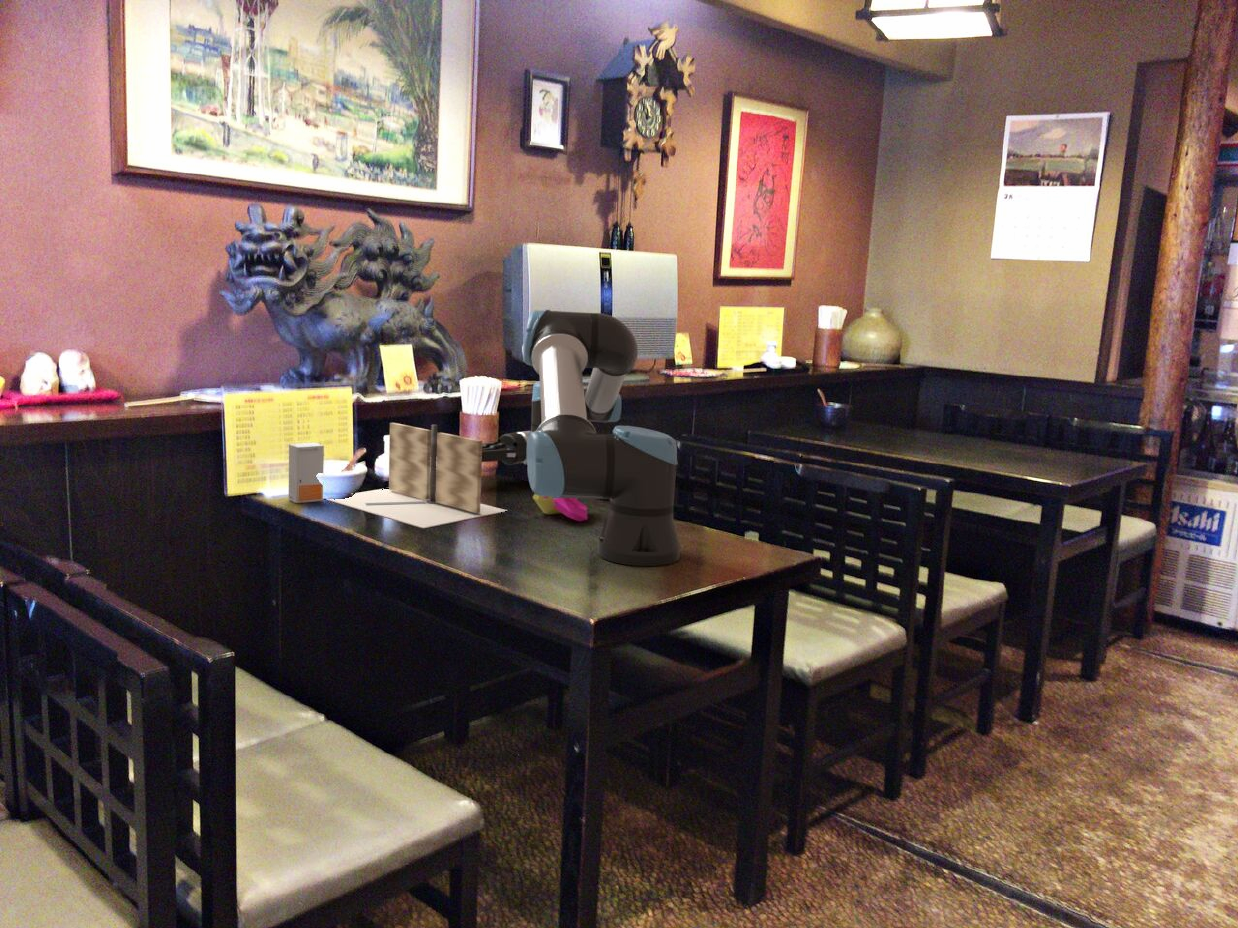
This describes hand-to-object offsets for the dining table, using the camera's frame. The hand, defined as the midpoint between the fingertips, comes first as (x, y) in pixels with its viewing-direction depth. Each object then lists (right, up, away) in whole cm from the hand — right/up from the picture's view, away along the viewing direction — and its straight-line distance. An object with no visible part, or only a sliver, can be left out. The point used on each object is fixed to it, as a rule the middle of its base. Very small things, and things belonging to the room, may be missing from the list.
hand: (444, 457), depth 225 cm
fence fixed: (+4, -11, -14) cm, 18 cm away
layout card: (-4, -10, -13) cm, 17 cm away
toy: (+26, -12, -13) cm, 32 cm away
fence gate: (-7, -8, -6) cm, 12 cm away
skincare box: (-27, -9, -14) cm, 32 cm away
